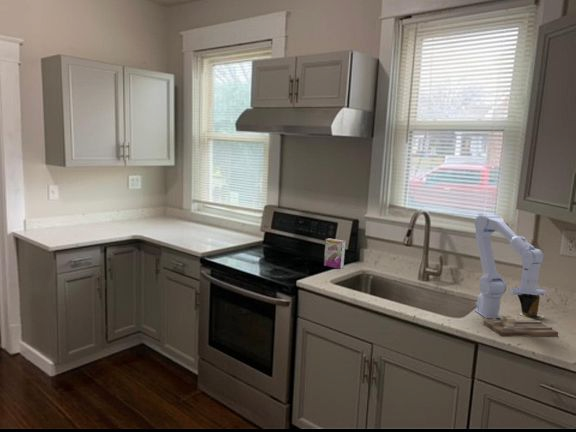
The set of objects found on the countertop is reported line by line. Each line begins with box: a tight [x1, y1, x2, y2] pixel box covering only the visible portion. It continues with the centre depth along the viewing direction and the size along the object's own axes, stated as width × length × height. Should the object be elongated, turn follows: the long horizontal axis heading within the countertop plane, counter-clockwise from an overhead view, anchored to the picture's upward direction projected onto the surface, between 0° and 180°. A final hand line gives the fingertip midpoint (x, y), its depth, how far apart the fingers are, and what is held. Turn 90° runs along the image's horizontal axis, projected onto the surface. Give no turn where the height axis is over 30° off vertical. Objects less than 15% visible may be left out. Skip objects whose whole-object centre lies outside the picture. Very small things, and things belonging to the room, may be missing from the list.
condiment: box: [519, 295, 545, 320], centre depth 193 cm, size 7×8×12 cm
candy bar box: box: [323, 238, 346, 270], centre depth 259 cm, size 11×5×16 cm, turn 59°
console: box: [483, 320, 559, 337], centre depth 176 cm, size 12×24×2 cm, turn 98°
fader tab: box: [499, 314, 516, 327], centre depth 174 cm, size 4×3×4 cm
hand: (524, 312), depth 175 cm, fingers closed
